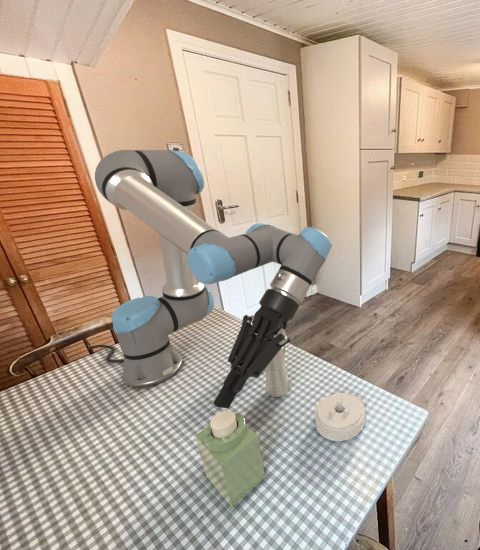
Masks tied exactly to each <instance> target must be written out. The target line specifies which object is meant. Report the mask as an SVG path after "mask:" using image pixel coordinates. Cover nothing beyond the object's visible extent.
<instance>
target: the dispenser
mask: <svg viewBox="0 0 480 550" xmlns="http://www.w3.org/2000/svg"><path fill="white" fill-rule="evenodd" d="M234 413H235V416H236V421H237V429H236V431H235V432H234V433H233V434H232V435H230V436H229V437H226V438H223V439H217V438H215V437H214V436H213V434H212V429H211V425H210V422H209V423H208V424H207V425H206V427H205V428H204V429H202V430H200V431H199V432H197V433H195V435H194V437H195V440H196V444H197V447H198V451H199V455H200V460H201V463H202V466H203V470H204V474H205V477H206V478H207V479H208V480H209V482H210V483H211V484H212V486H213V487H214V488H215V489H216V490H217V491H218V493H219V494H220V495H221V496H222V497H223V499H224V500H225V501H226V502H227V504H228V505H229V506H230V507H231V508H234V507H235V506H236V505H237V504H239V502H240V501H242V500H243V499H244V497H246V496H247V495H248V494H249V493H250V492H251V491H252V490H253V489H254V488H255V487H257V486H258V485H259V484H260V483H261V482H262V481H263V480H264V479H265V478H266V473H265V468H264V463H263V461H264V460H263V456H262V449H261V445H260V439H259V438H260V437H259V435H258V434H257V433H255V431H254V430H252V429H251V428H250V427H249V426H248V425H247V424H246V423H247V422H246V418H245V417H244V416H243V415H241V413H237V412H234Z"/></svg>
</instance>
